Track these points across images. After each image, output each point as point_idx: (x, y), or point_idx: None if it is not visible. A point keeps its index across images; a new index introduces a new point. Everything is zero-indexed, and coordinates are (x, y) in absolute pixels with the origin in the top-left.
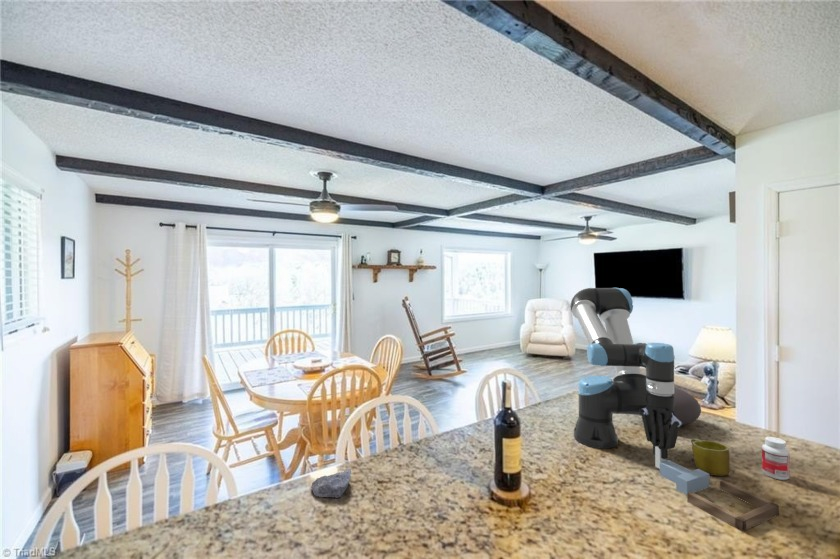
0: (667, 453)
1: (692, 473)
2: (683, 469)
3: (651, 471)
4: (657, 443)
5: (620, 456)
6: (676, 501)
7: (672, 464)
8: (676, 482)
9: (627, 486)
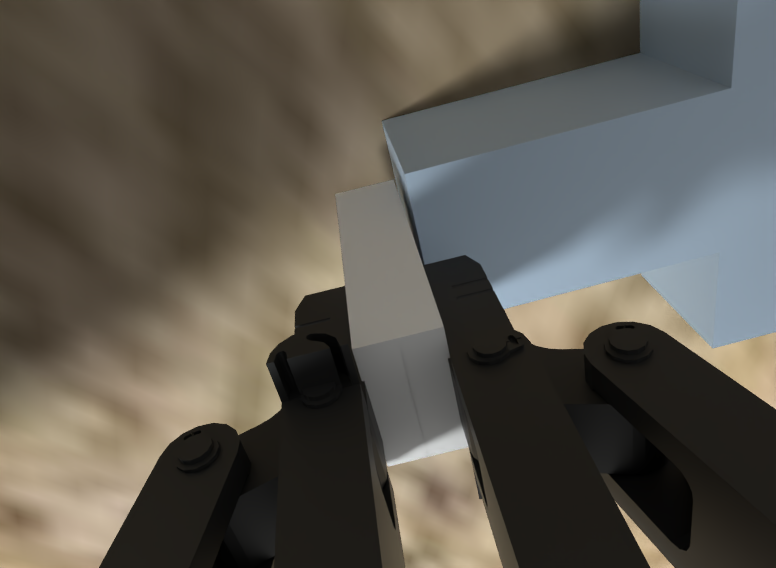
0: (497, 304)
1: (770, 134)
2: (662, 170)
3: (337, 282)
4: (382, 458)
5: (5, 388)
6: (740, 377)
7: (522, 213)
8: (679, 311)
9: (491, 546)
